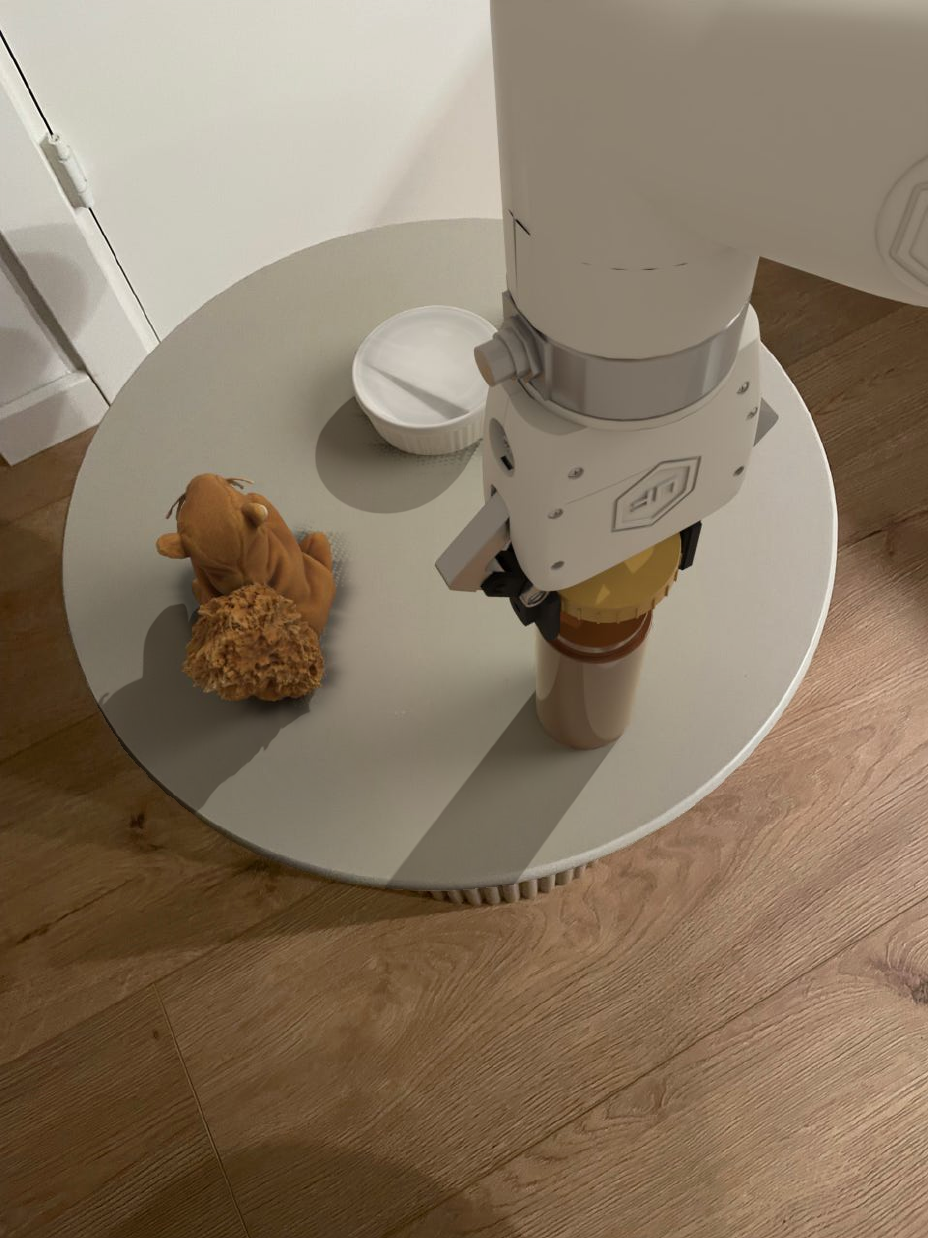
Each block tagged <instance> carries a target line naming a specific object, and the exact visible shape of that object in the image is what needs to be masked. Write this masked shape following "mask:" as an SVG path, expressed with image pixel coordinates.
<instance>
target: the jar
mask: <svg viewBox="0 0 928 1238" xmlns="http://www.w3.org/2000/svg"><path fill="white" fill-rule="evenodd" d="M653 618H654V610H653V609H651V610H649V611H648V612H646V613H644V614H642V615H640V616H639V618H637V619H636V617H635V618H632V619H629V620H626V621H621V622H620V623H618V624H617V622H613V623H600V624H597V622H591V621H586V620H583V619H580V620H578V618H577V617H574V616H572V615H570V614H568V613H566V612H564V611H563V612H562V611H560V633H558V637H557V638H555V639H553V640H551V641H549V642H547V641H546V640H545V638H544V637H543V635H542V634H541V632H540V631H539V629H538V627H537V626H536V624H535V623H534V658H535V659H534V662H535V663H534V664H535V666H534V668H535V670H534V671H535V708H536V709H535V710H536V715H537V717H538V720H539V722H540V724H541V725H542V728H543V729H544V731H545V732H546V734H548V735H549V736H550V737H551V738H552V739H554V740H555V741H556V742H558V743H560V744H561V745H564V746H566V747H568V748H571V749H576V750H585V751H586V750H595V749H600V748H603V747H606V746H608V745H610V744H612V743H613V742H615V741H616V740H617V739H618V738H620V737H621V736H622V734H623V733H624V732H626V729H627V728H628V726H629V724H630V722H631V719H632V716H633V712H634V708H635V703H636V699H637V693H638V688H639V684H640V680H641V675H642V671H643V666H644V661H645V657H646V652H647V647H648V643H649V639H650V633H651V631H652V626H653V625H652V624H653V620H654V619H653Z"/></svg>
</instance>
